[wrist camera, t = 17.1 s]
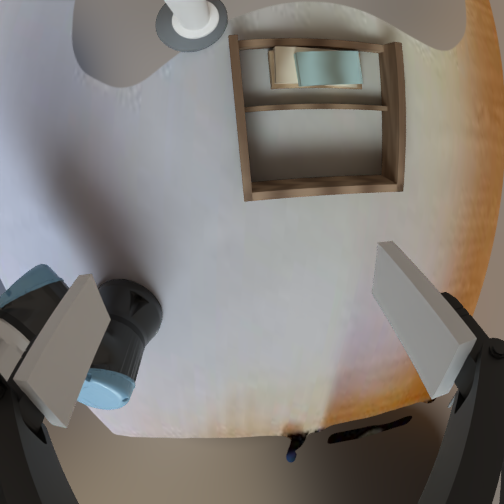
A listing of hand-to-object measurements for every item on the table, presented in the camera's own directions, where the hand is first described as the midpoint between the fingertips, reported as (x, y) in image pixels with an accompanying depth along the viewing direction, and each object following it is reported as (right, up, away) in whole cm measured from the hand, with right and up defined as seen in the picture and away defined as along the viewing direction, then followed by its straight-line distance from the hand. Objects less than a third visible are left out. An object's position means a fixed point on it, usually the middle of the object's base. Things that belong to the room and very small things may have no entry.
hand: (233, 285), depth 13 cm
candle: (-8, +36, +21) cm, 43 cm away
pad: (-8, +36, +22) cm, 43 cm away
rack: (+11, +23, +30) cm, 39 cm away
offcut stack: (+10, +29, +26) cm, 41 cm away
